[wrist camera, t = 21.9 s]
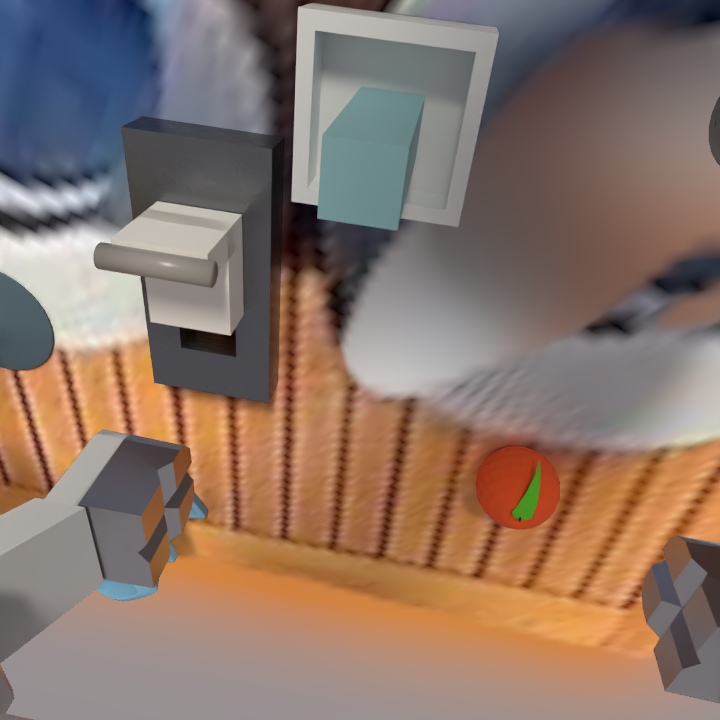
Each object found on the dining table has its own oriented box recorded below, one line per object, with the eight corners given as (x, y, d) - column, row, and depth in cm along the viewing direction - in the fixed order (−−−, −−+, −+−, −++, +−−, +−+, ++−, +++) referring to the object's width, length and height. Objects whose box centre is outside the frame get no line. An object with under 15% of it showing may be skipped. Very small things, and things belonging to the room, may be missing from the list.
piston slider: (150, 200, 40) (90, 245, 34) (249, 215, 40) (207, 264, 34) (161, 300, 45) (111, 357, 39) (250, 315, 45) (213, 375, 38)
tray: (312, 2, 35) (298, 7, 32) (496, 27, 34) (499, 33, 31) (303, 184, 41) (291, 201, 38) (459, 208, 41) (458, 227, 38)
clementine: (494, 411, 50) (497, 471, 44) (573, 432, 50) (586, 494, 44) (465, 474, 55) (465, 536, 49) (537, 493, 55) (545, 557, 49)
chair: (186, 456, 59) (130, 555, 49) (209, 512, 64) (162, 613, 54) (117, 455, 61) (50, 551, 51) (144, 510, 65) (87, 608, 55)
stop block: (361, 86, 36) (322, 134, 27) (425, 95, 36) (409, 147, 26) (355, 151, 39) (317, 218, 29) (415, 160, 38) (397, 230, 29)
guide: (142, 116, 40) (121, 126, 38) (284, 137, 40) (271, 149, 37) (168, 362, 52) (154, 382, 50) (277, 382, 52) (268, 403, 49)
